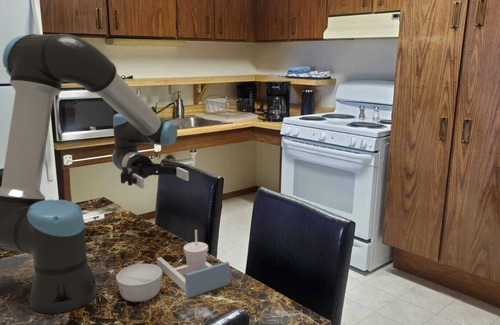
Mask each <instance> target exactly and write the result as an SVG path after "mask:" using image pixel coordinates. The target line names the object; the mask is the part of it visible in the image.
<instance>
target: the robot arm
mask: <svg viewBox="0 0 500 325" xmlns="http://www.w3.org/2000/svg"><path fill="white" fill-rule="evenodd" d="M2 54H3V55H2V64H3V67H4V68H6V70H5V71H6V74H7V75H8V76H9V77H10V80H9V84H10V86H11V87H12V88H13V89H14V90H15V94H14V101H13V107H12V113H11V119H10V127H9V134H8V137H7V138H8V140H7V145H6V146H7V147H6V153H5V160H4V166H3V172H2V179H1V186H0V249H1V250H8V251H13V252H18V253H23V254H29V255H32V261H33V267H34V274H33V280H32V283H31V284H32V285H31V288H30V290H29V294H28V296H29V297H28V298H29V305H30V307H31V309H33V310H34V311H36V312H39V313H43V314H59V313H60V314H61V313H66V312H70V311H73V310H76V309H79V308H82V307H83V306H85V305H87V304H89V303H90V302H91V301H92V300H93V299H94V298H95V297H96V296H97V293H98V288H97V280H96V279H95V277H94V275H93V272H92V270H91V268H90V266H89V264H88V257H87V256H88V255H87V243H86V230H85V228H86V227H85V225H86V224H85V219H84V215H83V214H84V213H83V211H82V208H81V207H80V206H79V205H78V204H77V203H75V202H73V201H70V200H65V199H46V196H45V195H44V194H43V193H42V192H41V183H42V178H43V171H44V170H43V168H44V162H45V156H46V149H47V143H48V136H49V129H50V123H51V117H52V109H53V108H52V107H53V101H54V98H55V97H56V96H58V95H59V94H61V91H62V84H63V83H72V84H76V85H79V86H81V87H83V88H84V89H85V90H86V91H87V92H90V93H92V94H93V93H94V94H97V95H98V96H99V97H100V98H101V99H102V100H103V101H105V102H106V104H108V106H110V107H111V108H112V109H113V110H114V111H116V112H117V113H115V114H114V115H113V119H112V120H113V126H112V128H113V129H112V130H113V140H114V151H113V152H112V155H111V161H112V163H113V165H114V166H115V167H116V168H117V169H119V170H120V171H121V173H120V183H121V184H126V183H127V186H133V185H136V186H137V187H139V189H145V179H147V178H149V177H150V176H160V175H168V176H169V175H171V176H176V177H178V178H179V179H182V180H184V181H186V182H189V180H190V177H189V176H190V175H189V173H190V172H189V171H188V170H187V169H186V167H187V166H186V165H182V164H178V163H177V164H176V163H175V164H174V163H167V162H165V161H161V162H160V163H157V162H156V163H155V162H153V160H152V159H151V158H150V157H149V156H146V155H144V154H142V153H140V152H139V144H144V145H145V144H147V145H155V146H172V145H173V144H175V142H176V141H177V137H178V128H177V125H176V124H175V123H174V122H173V121H164V120H163V119H162V118H160V116H159V115H158V114H156V112H155V111H154V110H153V109H152V108H151V107H150V106H149V105H148V104H147V103H146V101H144V100H143V99H142V97H141V96H140V95H138V94H137V92H135V90H134V89H133V88H132V87H131V86H130V85H129V84H128V82H126V81H125V80H124V79H123V78H122V77H121V76H120V74H118V70H117V67H116V65H115V64H114V63H113V62H112V60H110V58H108V57H107V55H105V54H104V53H103V52H102V51H101V50H100V49H98V48H97V47H95V46H94V45H92V44H91V43H90V42H88V41H86V40H85V39H83V38H81V37H78V36H76V35H73V34H69V33H58V34H57V33H52V34H51V33H50V34H48V33H46V34H45V33H44V34H36V33H29V34H25V35H19V36H16V37H15V38H13V39H11V40H10V41H9V42H8V43H7V45H6V46H5V48H4V50H3V53H2Z"/></svg>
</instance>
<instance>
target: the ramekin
mask: <svg viewBox="0 0 500 325" xmlns="http://www.w3.org/2000/svg"><path fill="white" fill-rule="evenodd" d="M163 273H164V272H163V271H162V269H161V268H160V267H159V266H157V264H153V263H152V264H151V263H136V264H133V265H128V266H126V267H124V268H123V269H120V271H118V273H116V275H115V281H116V282H115V283H116V284H117V286H118V290H119V294H120V296H121V298H123V299H124V300H126V301H129V302H131V303H137V302H138V303H139V302H145V301H149V300H151V299H153V298H154V297H156V296H157V295H158V294H159V292H160V291H161V286H162V278H163Z"/></svg>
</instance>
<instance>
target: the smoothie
mask: <svg viewBox="0 0 500 325" xmlns="http://www.w3.org/2000/svg"><path fill="white" fill-rule="evenodd" d="M208 251H209V245H208V244H207V243H205V242H202V241H198V230H197V229H195V230H194V241H192V242H189V243H186V244H184V246H183V253H184V254H185V260H186V265H187V268H188V273H190V272H194V271H197V270H200V269H204V268H205V265H206V261H207V257H208V256H207V255H208Z"/></svg>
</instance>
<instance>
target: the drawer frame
mask: <svg viewBox="0 0 500 325" xmlns="http://www.w3.org/2000/svg"><path fill="white" fill-rule="evenodd" d="M156 265H157V266H159V267H160V268H161V269H162V273H164V274H165V275H166V276H167V277H168V278H169V279H170V280H171V281H172V282H174V283H175V285H177V286H178V287H179V288H180V289H181V290H182V291H183V292H184V293H185V297H186V298H187V299H190V298H192V297H196V296H199V295H202V294H204V293H207V292H211V291H215V290H216V289H220V288H223V287H226V286H229V285H230V262H229V261H225V262H221V263H218V264H214V265H212V264H211V263H210V262H208V261H207V260H206V265H205V268H204V269H200V270H197V271H194V272H190V273H188V268H187V264H185V265H181V266H177V267H173V266H172V265H170V263H168V262H167V261H166V260H165V259H164V258H163V257H161V256H159V257H156Z"/></svg>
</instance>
